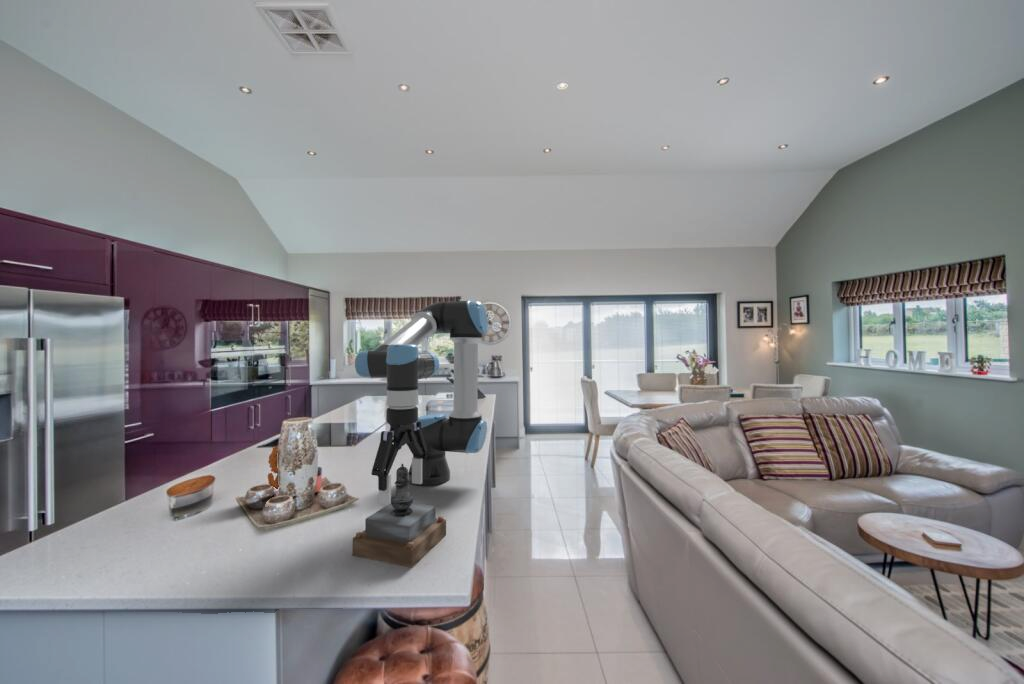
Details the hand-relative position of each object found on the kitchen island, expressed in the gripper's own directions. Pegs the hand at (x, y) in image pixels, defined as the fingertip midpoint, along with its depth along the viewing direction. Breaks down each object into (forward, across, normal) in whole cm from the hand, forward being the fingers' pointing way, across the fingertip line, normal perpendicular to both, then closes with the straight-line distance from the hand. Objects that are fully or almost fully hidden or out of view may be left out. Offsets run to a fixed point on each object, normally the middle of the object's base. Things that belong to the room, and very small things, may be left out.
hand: (402, 492), depth 99 cm
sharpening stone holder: (+13, 0, 0) cm, 13 cm away
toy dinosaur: (+13, -14, -53) cm, 56 cm away
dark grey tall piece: (+5, 0, 0) cm, 5 cm away
